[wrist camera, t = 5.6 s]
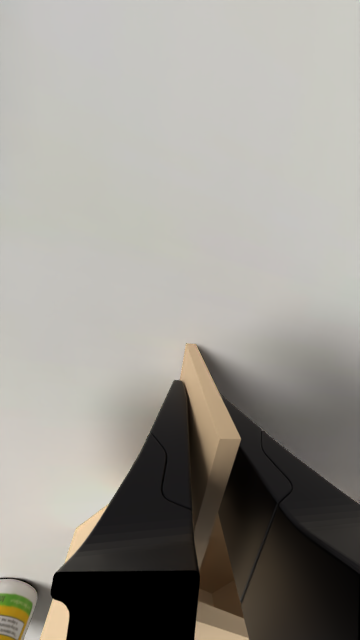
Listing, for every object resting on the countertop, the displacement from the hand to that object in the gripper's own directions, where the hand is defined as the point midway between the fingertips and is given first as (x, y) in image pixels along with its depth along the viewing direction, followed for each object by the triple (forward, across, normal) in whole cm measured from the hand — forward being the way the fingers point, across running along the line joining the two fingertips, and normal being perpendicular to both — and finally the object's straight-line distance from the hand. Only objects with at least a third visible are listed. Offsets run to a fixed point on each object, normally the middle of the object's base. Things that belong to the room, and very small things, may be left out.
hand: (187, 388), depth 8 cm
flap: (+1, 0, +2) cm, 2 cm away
